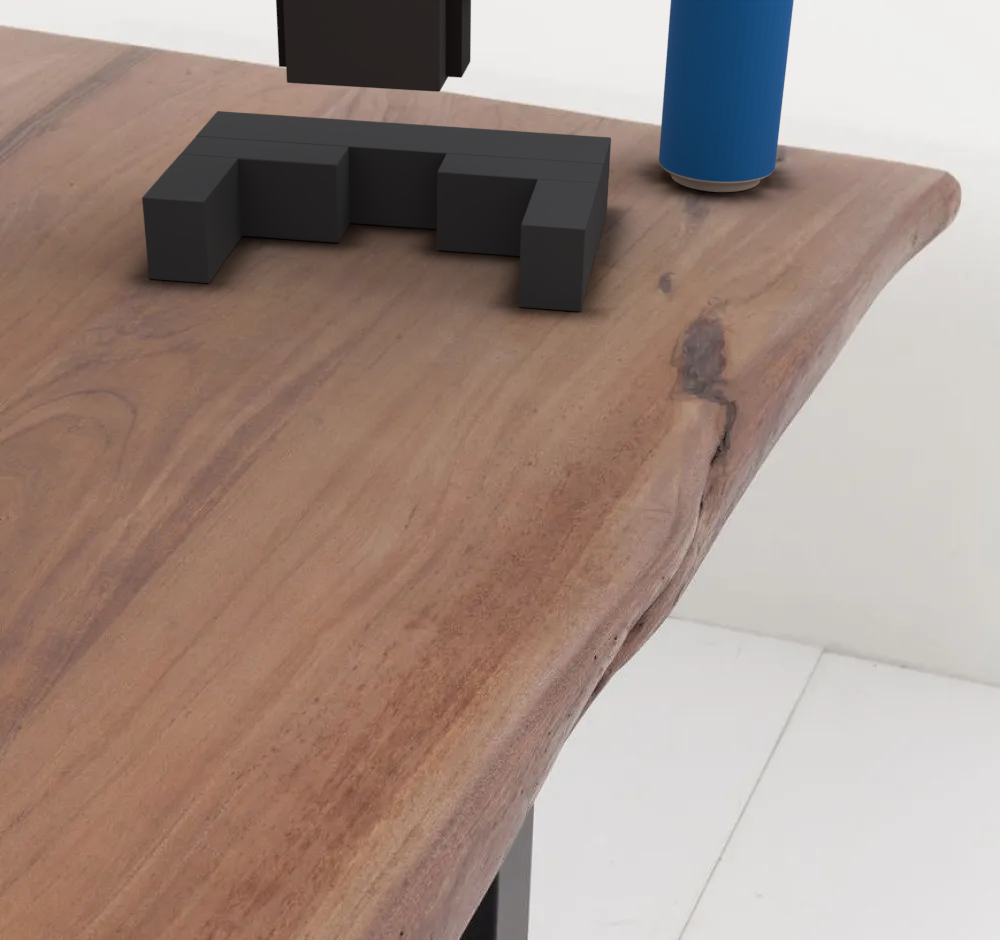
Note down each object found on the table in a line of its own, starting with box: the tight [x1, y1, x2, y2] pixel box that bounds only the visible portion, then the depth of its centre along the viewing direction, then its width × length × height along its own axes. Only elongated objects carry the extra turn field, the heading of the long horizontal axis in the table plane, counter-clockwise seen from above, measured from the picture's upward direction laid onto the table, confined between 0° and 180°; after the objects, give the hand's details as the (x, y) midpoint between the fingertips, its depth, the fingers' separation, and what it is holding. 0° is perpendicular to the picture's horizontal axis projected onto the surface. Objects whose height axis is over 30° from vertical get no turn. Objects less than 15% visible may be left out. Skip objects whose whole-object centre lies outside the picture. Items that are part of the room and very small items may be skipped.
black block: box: [283, 0, 449, 93], centre depth 87 cm, size 7×8×4 cm
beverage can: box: [658, 0, 795, 193], centre depth 102 cm, size 6×6×12 cm
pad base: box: [141, 110, 612, 312], centre depth 94 cm, size 21×14×4 cm, turn 82°
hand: (375, 63), depth 87 cm, fingers closed on black block, 7 cm apart
